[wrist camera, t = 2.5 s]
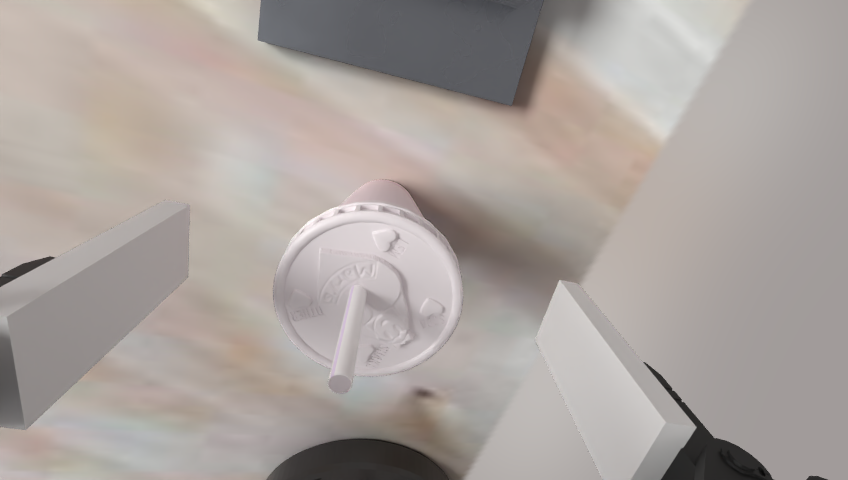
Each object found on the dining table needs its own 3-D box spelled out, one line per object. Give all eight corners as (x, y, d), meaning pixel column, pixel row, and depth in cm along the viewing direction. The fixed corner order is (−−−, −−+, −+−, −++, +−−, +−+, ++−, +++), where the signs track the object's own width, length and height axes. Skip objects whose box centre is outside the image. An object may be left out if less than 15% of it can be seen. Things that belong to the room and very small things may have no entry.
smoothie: (392, 128, 21) (377, 214, 8) (462, 222, 23) (543, 414, 10) (298, 201, 22) (148, 382, 9) (373, 284, 24) (340, 528, 11)
